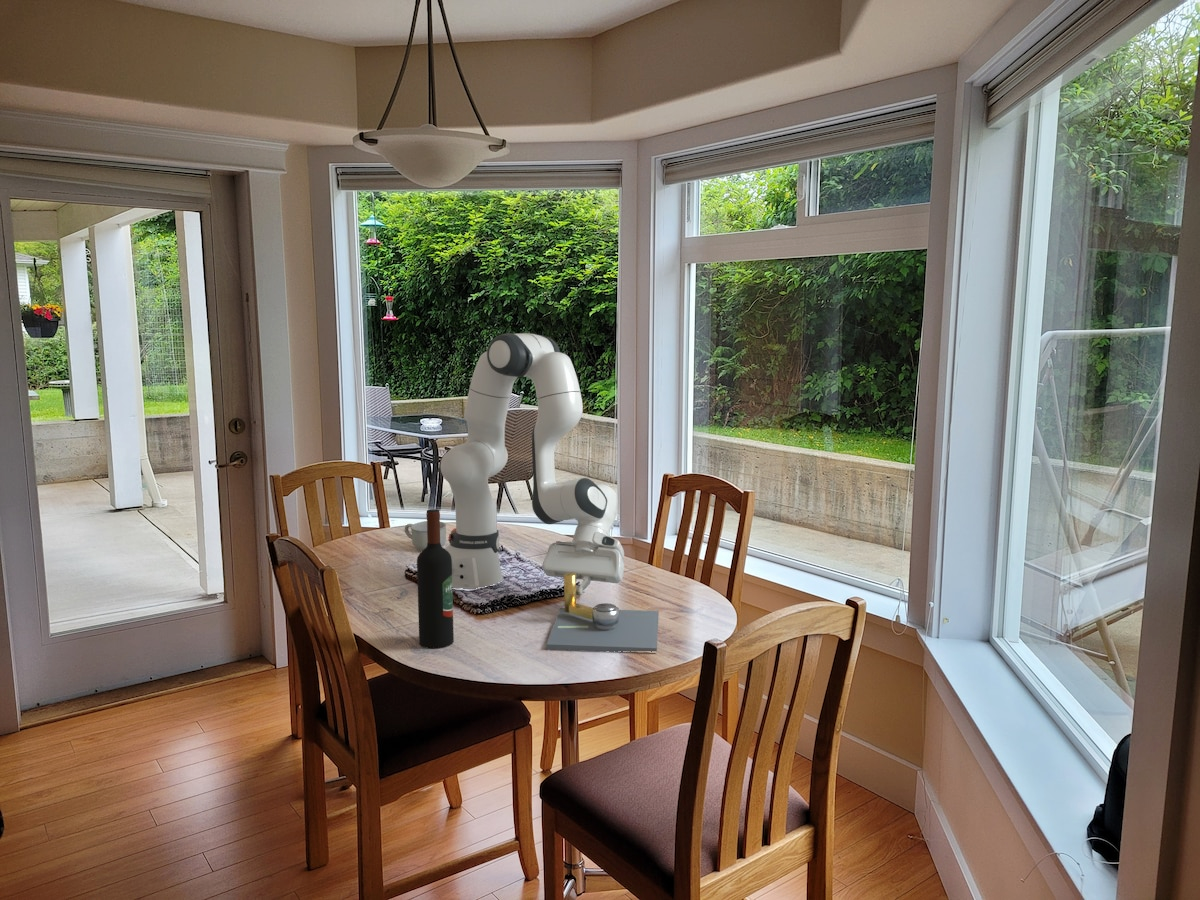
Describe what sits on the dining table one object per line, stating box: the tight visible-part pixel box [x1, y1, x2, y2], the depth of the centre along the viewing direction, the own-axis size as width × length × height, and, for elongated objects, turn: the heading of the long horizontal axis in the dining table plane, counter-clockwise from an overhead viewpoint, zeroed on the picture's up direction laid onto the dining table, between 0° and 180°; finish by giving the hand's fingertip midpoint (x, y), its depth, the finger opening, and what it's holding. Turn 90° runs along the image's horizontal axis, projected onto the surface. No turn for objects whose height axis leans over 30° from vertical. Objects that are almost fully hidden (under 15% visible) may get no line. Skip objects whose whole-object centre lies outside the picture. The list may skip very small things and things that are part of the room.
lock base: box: [545, 607, 660, 653], centre depth 197 cm, size 24×24×2 cm
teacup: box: [404, 520, 447, 552], centre depth 268 cm, size 14×11×8 cm
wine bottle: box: [416, 508, 455, 650], centre depth 188 cm, size 8×8×30 cm
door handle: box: [563, 573, 620, 626], centre depth 199 cm, size 15×6×9 cm, turn 50°
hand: (575, 593), depth 206 cm, fingers closed
